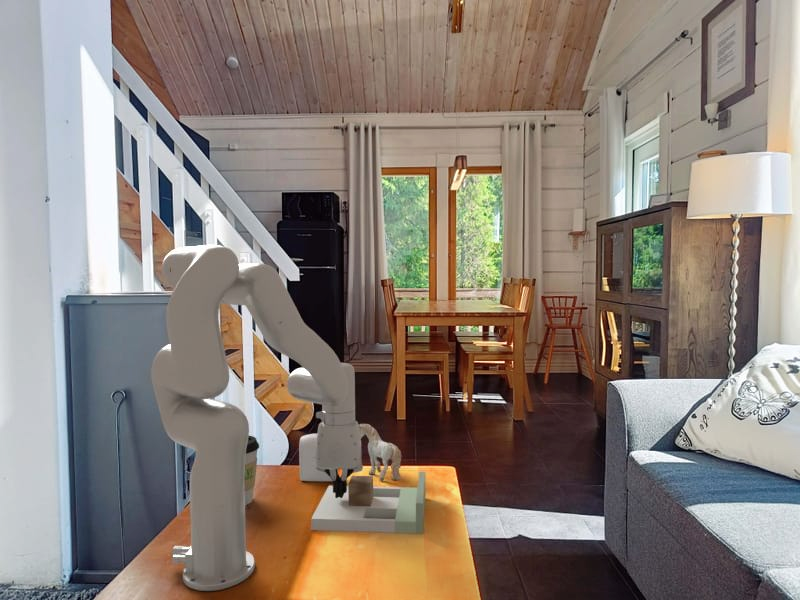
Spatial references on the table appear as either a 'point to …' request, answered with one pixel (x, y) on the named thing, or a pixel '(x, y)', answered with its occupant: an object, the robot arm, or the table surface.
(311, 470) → the photo printer
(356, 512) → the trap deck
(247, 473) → the coffee cup
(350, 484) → the walnut block
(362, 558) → the table surface
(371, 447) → the unicorn figurine
